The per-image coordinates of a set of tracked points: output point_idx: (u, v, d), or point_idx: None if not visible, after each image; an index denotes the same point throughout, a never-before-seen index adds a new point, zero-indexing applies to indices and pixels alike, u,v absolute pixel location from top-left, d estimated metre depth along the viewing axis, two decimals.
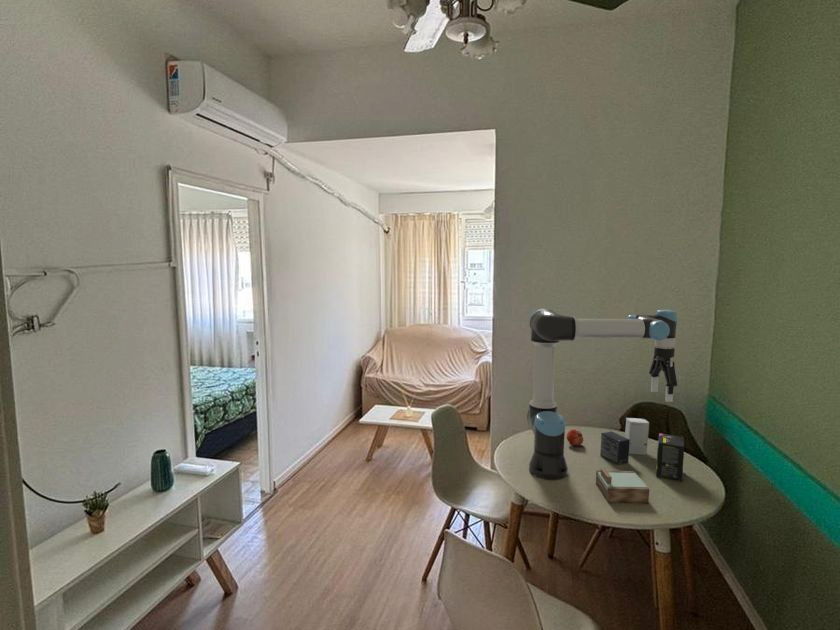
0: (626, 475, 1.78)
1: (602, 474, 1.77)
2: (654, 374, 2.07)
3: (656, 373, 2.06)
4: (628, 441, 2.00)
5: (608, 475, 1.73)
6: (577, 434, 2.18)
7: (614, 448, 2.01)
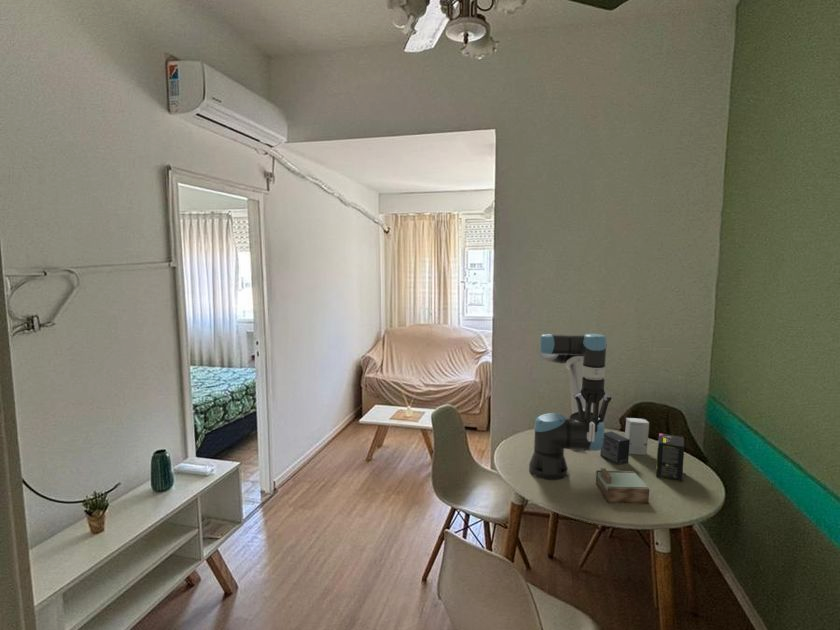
0: (626, 475, 1.78)
1: (602, 474, 1.77)
2: (593, 417, 1.73)
3: (594, 415, 1.73)
4: (628, 441, 2.00)
5: (608, 475, 1.73)
6: None
7: (614, 448, 2.01)
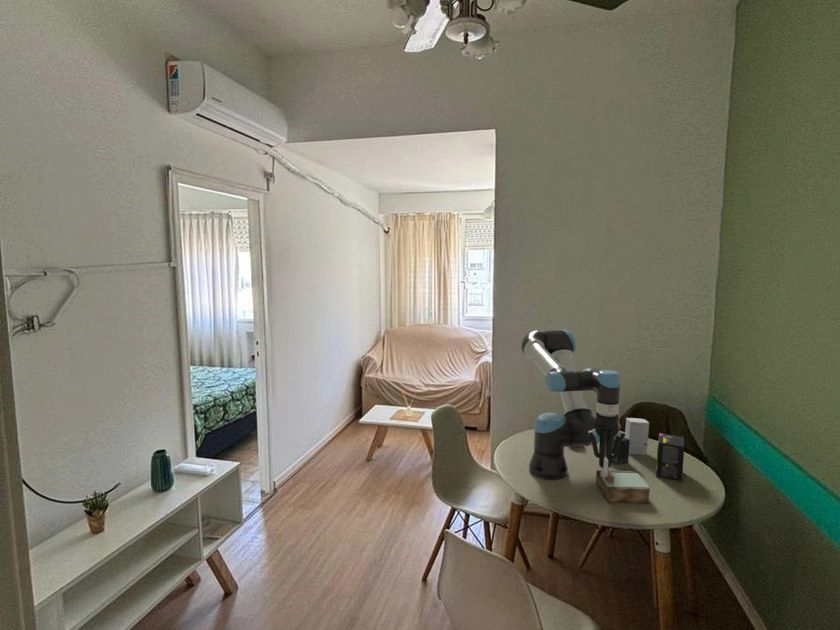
0: (628, 475, 1.78)
1: None
2: (607, 452, 1.75)
3: (607, 451, 1.74)
4: (628, 441, 2.00)
5: (610, 475, 1.73)
6: None
7: None
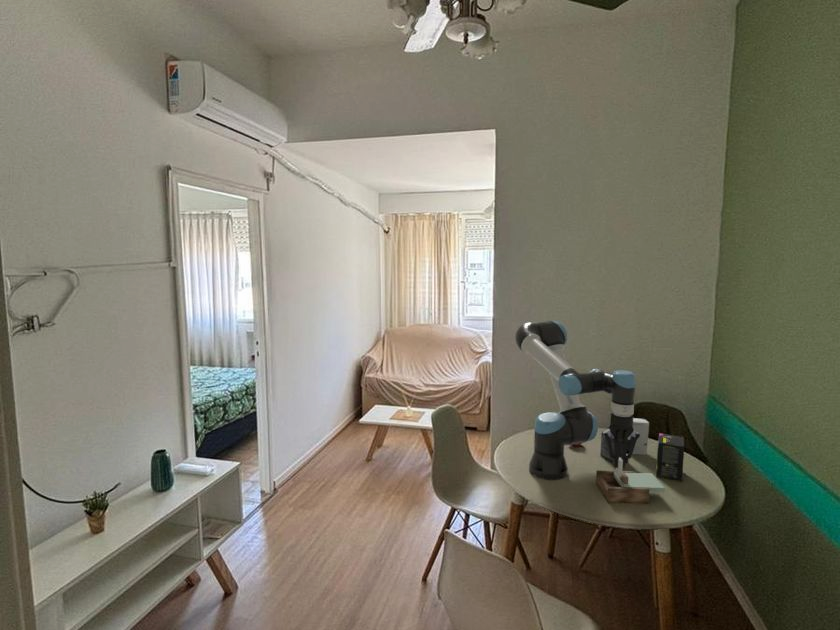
0: (643, 476, 1.78)
1: None
2: (621, 453, 1.74)
3: (621, 451, 1.74)
4: (628, 441, 2.00)
5: (625, 475, 1.73)
6: None
7: None
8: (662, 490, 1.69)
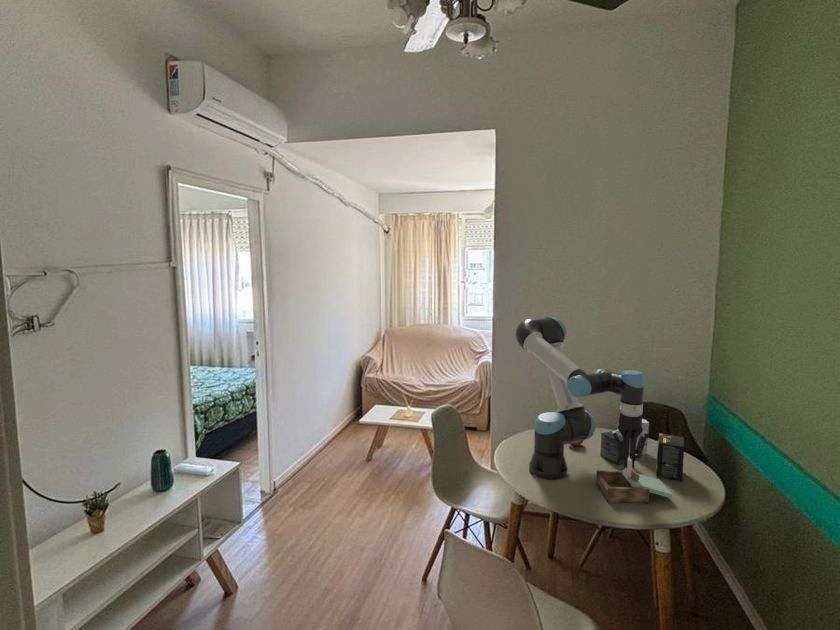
0: (651, 479, 1.78)
1: None
2: (630, 453, 1.74)
3: (630, 451, 1.74)
4: None
5: (636, 473, 1.72)
6: None
7: (614, 448, 2.01)
8: (669, 496, 1.69)
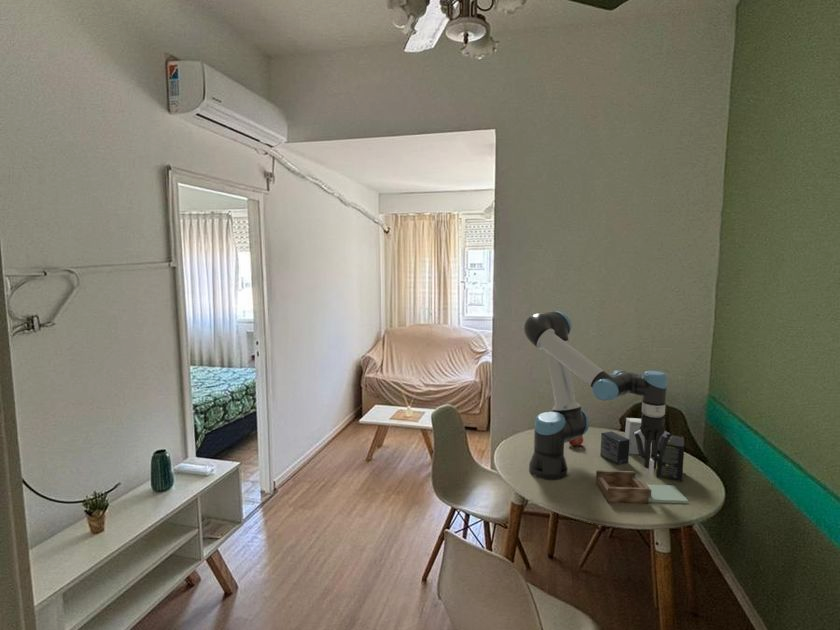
0: (665, 488, 1.78)
1: None
2: (652, 453, 1.74)
3: (652, 452, 1.73)
4: (628, 441, 2.00)
5: None
6: None
7: (614, 448, 2.01)
8: None
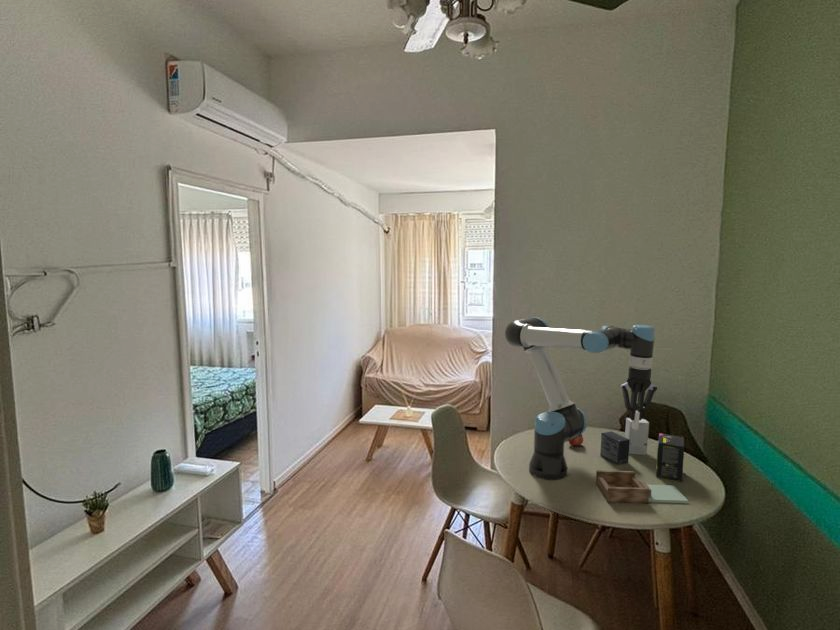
0: (665, 488, 1.78)
1: None
2: (638, 406, 1.78)
3: (638, 404, 1.77)
4: (628, 441, 2.00)
5: None
6: None
7: (614, 448, 2.01)
8: None
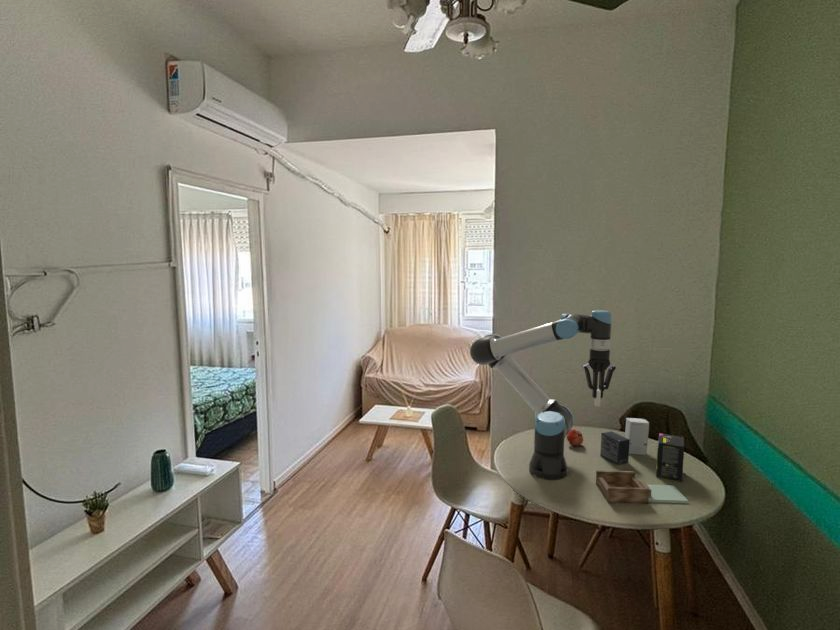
0: (665, 488, 1.78)
1: None
2: (599, 385, 1.94)
3: (599, 383, 1.93)
4: (628, 441, 2.00)
5: None
6: (577, 434, 2.18)
7: (614, 448, 2.01)
8: None
